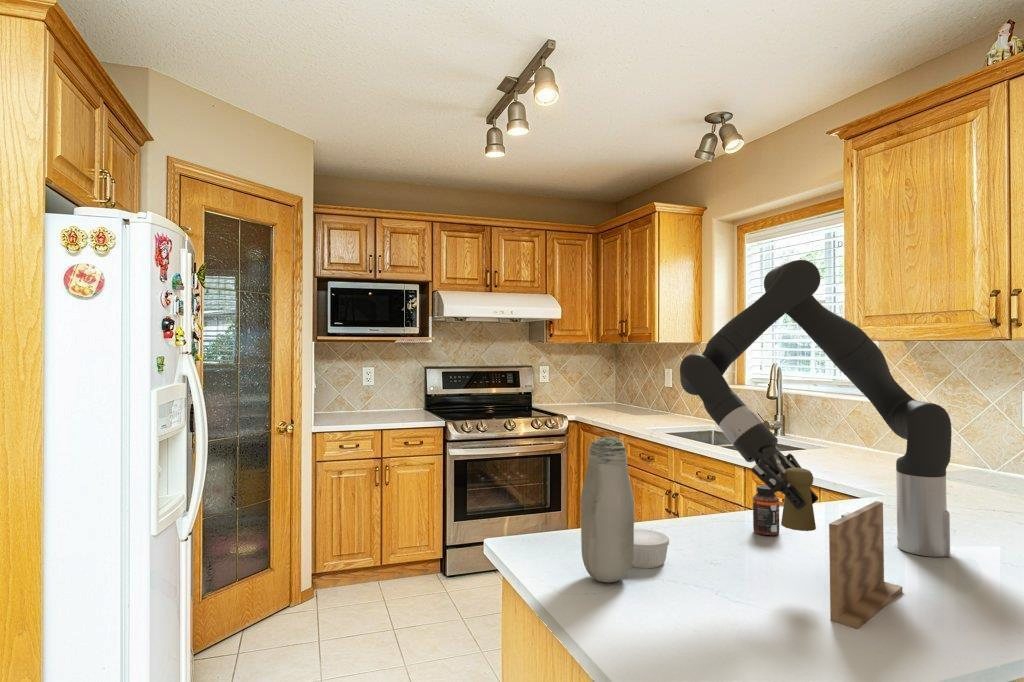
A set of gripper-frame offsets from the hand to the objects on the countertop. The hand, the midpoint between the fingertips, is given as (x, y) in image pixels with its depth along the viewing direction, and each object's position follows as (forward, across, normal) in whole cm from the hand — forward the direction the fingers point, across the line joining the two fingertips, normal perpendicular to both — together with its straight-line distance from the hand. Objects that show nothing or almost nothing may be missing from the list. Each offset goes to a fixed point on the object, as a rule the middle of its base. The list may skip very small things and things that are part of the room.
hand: (808, 504), depth 112 cm
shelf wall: (+18, 0, +4) cm, 19 cm away
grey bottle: (-8, -25, +32) cm, 41 cm away
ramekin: (-10, -11, +33) cm, 36 cm away
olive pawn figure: (+2, 0, +5) cm, 5 cm away
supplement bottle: (-4, +27, +27) cm, 38 cm away
